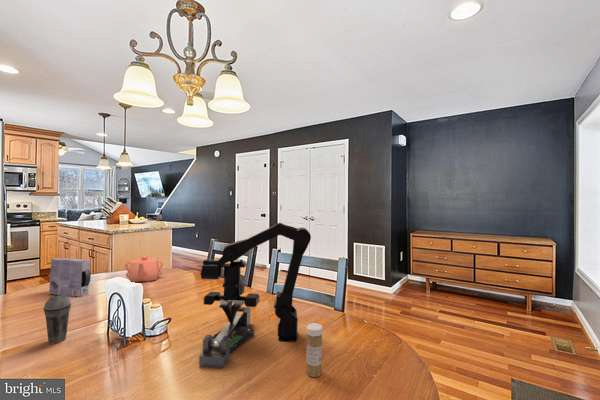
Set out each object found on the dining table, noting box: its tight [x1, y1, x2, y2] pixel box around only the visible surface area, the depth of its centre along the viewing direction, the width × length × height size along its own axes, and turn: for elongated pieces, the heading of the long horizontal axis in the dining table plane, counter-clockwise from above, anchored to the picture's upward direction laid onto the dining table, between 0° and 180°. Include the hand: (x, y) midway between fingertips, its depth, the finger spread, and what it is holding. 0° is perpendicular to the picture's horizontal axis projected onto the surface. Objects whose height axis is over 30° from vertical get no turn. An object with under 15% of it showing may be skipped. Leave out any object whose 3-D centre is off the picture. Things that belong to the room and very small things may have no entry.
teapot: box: [124, 255, 164, 283], centre depth 167 cm, size 20×19×14 cm
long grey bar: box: [211, 311, 243, 348], centre depth 99 cm, size 3×25×2 cm, turn 175°
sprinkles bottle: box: [305, 322, 324, 378], centre depth 82 cm, size 5×5×14 cm
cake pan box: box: [48, 257, 92, 298], centre depth 143 cm, size 19×5×18 cm, turn 82°
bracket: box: [198, 306, 252, 369], centre depth 98 cm, size 7×30×7 cm, turn 175°
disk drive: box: [212, 325, 255, 355], centre depth 99 cm, size 10×3×15 cm
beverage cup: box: [43, 281, 72, 344], centre depth 98 cm, size 7×7×20 cm
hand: (231, 323), depth 102 cm, fingers closed, pressing on long grey bar
